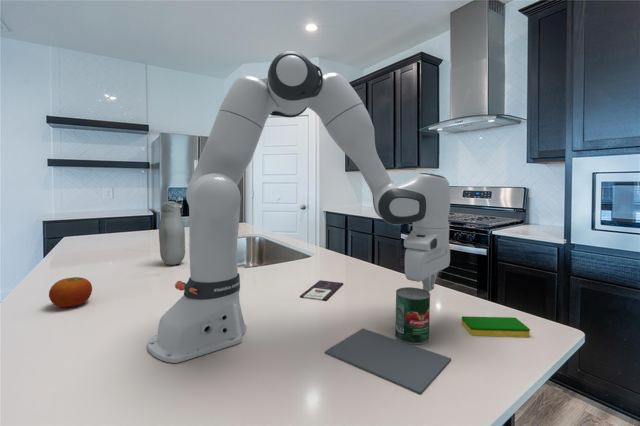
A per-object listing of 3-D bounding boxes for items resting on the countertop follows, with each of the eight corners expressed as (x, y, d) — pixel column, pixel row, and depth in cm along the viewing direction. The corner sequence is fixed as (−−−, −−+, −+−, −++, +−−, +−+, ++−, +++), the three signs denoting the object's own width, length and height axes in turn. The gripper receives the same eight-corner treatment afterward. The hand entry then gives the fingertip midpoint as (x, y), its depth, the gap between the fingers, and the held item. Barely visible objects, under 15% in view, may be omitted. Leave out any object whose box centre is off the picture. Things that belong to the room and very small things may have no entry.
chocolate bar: (343, 282, 122) (326, 299, 106) (343, 285, 122) (326, 302, 106) (319, 280, 126) (299, 295, 109) (319, 282, 126) (299, 298, 109)
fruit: (41, 308, 100) (39, 282, 99) (77, 297, 109) (75, 272, 108) (66, 313, 96) (64, 286, 95) (101, 301, 106) (99, 276, 105)
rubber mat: (420, 394, 60) (420, 392, 60) (324, 353, 74) (324, 351, 74) (451, 360, 71) (451, 358, 71) (362, 329, 86) (362, 328, 86)
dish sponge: (460, 324, 90) (461, 315, 89) (515, 326, 89) (515, 317, 89) (471, 337, 83) (471, 327, 82) (530, 338, 82) (530, 329, 81)
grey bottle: (165, 262, 155) (162, 200, 152) (188, 261, 156) (185, 200, 153) (157, 267, 145) (153, 202, 142) (182, 266, 146) (179, 201, 143)
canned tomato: (406, 326, 87) (407, 285, 86) (435, 336, 82) (436, 292, 81) (388, 336, 82) (389, 292, 81) (418, 348, 76) (419, 300, 75)
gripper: (434, 231, 97) (432, 279, 98) (400, 241, 81) (398, 297, 82) (457, 233, 92) (455, 283, 94) (425, 244, 77) (423, 304, 78)
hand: (428, 290), depth 88 cm, fingers closed
